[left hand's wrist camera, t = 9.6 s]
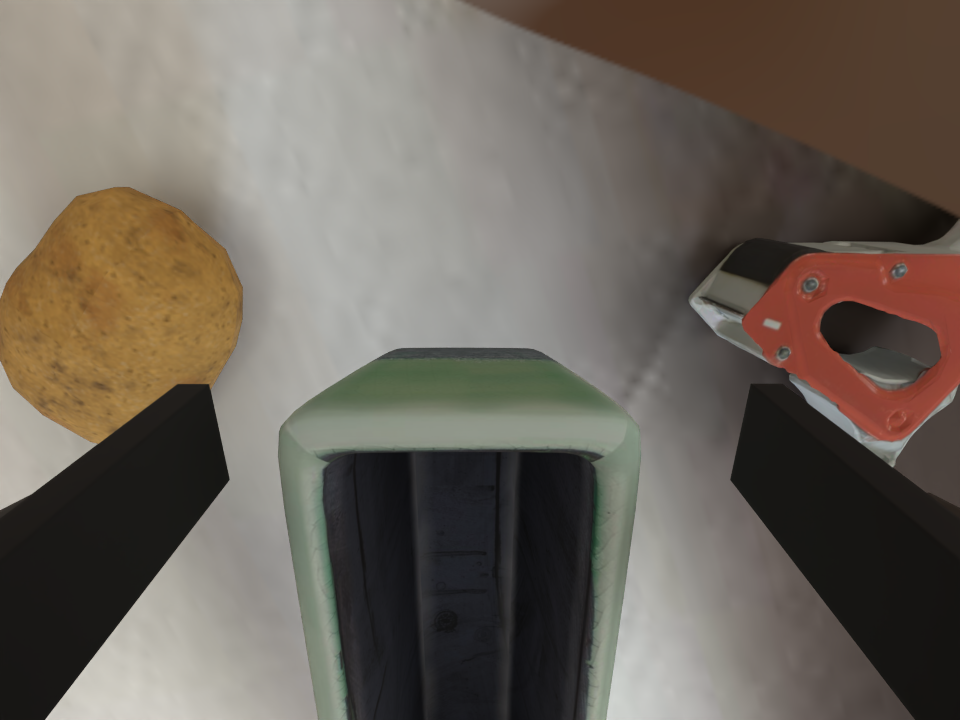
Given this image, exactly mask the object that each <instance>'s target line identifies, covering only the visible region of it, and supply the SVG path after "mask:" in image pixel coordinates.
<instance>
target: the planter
mask: <svg viewBox="0 0 960 720" xmlns="http://www.w3.org/2000/svg"><path fill="white" fill-rule="evenodd" d="M278 459H279V468H280V476H281V484H282V493H283V501H284V509H285V516H286V522H287V528H288V535H289V541H290V547H291V554H292V560H293V566H294V573H295V579H296V586H297V592H298V598H299V605H300V611H301V617H302V623H303V629H304V635H305V641H306V647H307V653H308V660H309V666H310V672H311V678H312V684H313V690H314V696H315V702H316V708H317V715H318V720H606V716H607V709H608V702H609V695H610V688H611V681H612V674H613V667H614V660H615V653H616V646H617V639H618V632H619V625H620V618H621V611H622V604H623V597H624V590H625V582H626V575H627V568H628V560H629V553H630V546H631V538H632V531H633V524H634V516H635V509H636V500H637V490H638V480H639V471H640V461H641V444H640V430H639V426H638V425H637V424H636V422H635V421H634V420H633V419H632V417H631V416H630V415H629V414H628V413H627V411H625V410H624V409H623V408H622V407H621V406H620V405H618V404H617V403H616V402H615V401H614V400H612V399H611V398H609V397H608V396H607V395H605V394H604V393H603V392H601V391H600V390H598V389H597V388H596V387H594V386H593V385H591V384H590V383H588V382H587V381H585V380H584V379H582V378H581V377H580V376H578V375H576V374H575V373H573V372H572V371H570V370H569V369H567V368H566V367H564V366H563V365H561V364H560V363H558V362H556V361H555V360H553V359H552V358H550V357H548V356H547V355H545V354H543V353H542V352H539V351H537V350H534V349H525V348H401V349H396V350H393V351H391V352H388V353H386V354H384V355H382V356H381V357H379V358H377V359H375V360H373V361H372V362H370V363H368V364H367V365H365V366H363V367H362V368H360V369H358V370H356V371H355V372H353V373H352V374H350V375H348V376H347V377H345V378H343V379H342V380H340V381H339V382H337V383H335V384H334V385H332V386H331V387H329V388H327V389H326V390H324V391H323V392H321V393H320V394H318V395H317V396H315V397H314V398H312V399H311V400H309V401H308V402H306V403H305V404H304V405H302V406H301V407H300V408H299V409H297V410H296V411H295V412H294V413H293V414H292V415H291V416H290V417H289V418H288V419H287V420H286V421H285V423H284V424H283V425H282V426H281V428H280V431H279V448H278Z"/></svg>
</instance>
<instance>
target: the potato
mask: <svg viewBox="0 0 960 720" xmlns="http://www.w3.org/2000/svg"><path fill="white" fill-rule="evenodd" d="M242 303H243V287H242V285H241V283H240V280H239V278H238V276H237V274H236V272H235V269H234V267H233V265H232V263H231V260H230V258H229V256H228V254H227V251H226V249H225V248H223V247H222V246H221V245H220V244H219V243H218V242H216V241H215V240H214V239H213V238H212V237H210V236H209V235H208V234H207V233H206V232H205V231H203V230H202V229H201V228H200V227H199V226H197V225H196V224H195V223H194V222H193V221H192V220H191V219H190V218H189V217H188V216H187V215H186V214H184V213H183V212H182V211H181V210H179V209H177V208H175V207H172V206H170V205H168V204H166V203H163V202H161V201H159V200H157V199H154V198H152V197H150V196H148V195H145V194H143V193H141V192H139V191H136V190H134V189H132V188H130V187H114V188H110V189H106V190H101V191H97V192H93V193H88V194H84V195H80V196H76V198H75V199H74V200H73V201H72V202H71V203H70V204H69V205H68V206H67V207H66V208H65V210H64V211H63V212H62V213H61V214H60V215H59V216H58V217H57V218H56V219H55V220H54V222H53V223H52V225H51V226H50V228H49V229H48V231H47V232H46V233H45V235H44V236H43V238H42V239H41V241H40V242H39V244H38V245H37V247H36V248H35V249H34V250H33V251H32V252H31V253H30V254H29V256H28V257H27V258H26V259H25V260H24V261H23V262H22V263H21V264H20V265H19V266H18V267H17V268H16V269H15V271H14V272H13V274H12V275H11V277H10V278H9V280H8V281H7V283H6V286H5V288H4V291H3V293H2V296H1V299H0V361H1V363H2V365H3V367H4V370H5V372H6V374H7V376H8V378H9V381H10V383H11V385H12V387H13V388H14V389H15V390H16V391H17V392H18V393H19V394H20V395H22V396H23V397H24V398H25V399H26V400H27V401H28V402H29V403H30V404H31V405H33V406H34V407H35V408H36V409H37V410H38V411H39V412H40V413H41V414H42V415H44V416H46V417H47V418H49V419H51V420H53V421H55V422H56V423H58V424H60V425H62V426H63V427H65V428H67V429H69V430H71V431H72V432H74V433H76V434H78V435H79V436H81V437H83V438H85V439H87V440H88V441H90V442H94V443H98V444H99V443H100V442H102V441H103V440H104V439H105V438H107V437H108V436H109V435H111V434H112V433H113V432H115V431H116V430H117V429H119V428H120V427H121V426H123V425H124V424H125V423H127V422H128V421H129V420H131V419H132V418H133V417H134V416H136V415H137V414H138V413H140V412H141V411H142V410H144V409H145V408H146V407H148V406H149V405H150V404H152V403H153V402H154V401H156V400H157V399H158V398H160V397H161V396H162V395H164V394H165V393H166V392H167V391H169V390H170V389H171V388H173V387H174V386H175V385H177V384H209V386H210V390H211V388H212V386H213V385H214V383H215V381H216V379H217V378H218V376H219V374H220V372H221V371H222V369H223V367H224V365H225V364H226V362H227V360H228V359H229V357H230V355H231V354H232V352H233V350H234V348H235V347H236V343H237V339H238V335H239V331H240V327H241V323H242Z"/></svg>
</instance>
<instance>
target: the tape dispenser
mask: <svg viewBox="0 0 960 720" xmlns="http://www.w3.org/2000/svg"><path fill="white" fill-rule="evenodd" d="M688 301H689V303H690V305H691V306H692V307H693V309H694V310H695V311H696V312H697V313H698V314H699V315H700V316H701V317H702V318H703V320H704V321H705V322H706V323H707V324H708V325H709V326H710V327H711V328H712V329H713V330H714V332H715V333H716V334H717V335H718V336H720V337H721V338H724V339H726V340H728V341H729V342H731V343H732V344H734V345H736V346H738V347H739V348H741V349H743V350H745V351H747V352H749V353H751V354H753V355H755V356H757V357H759V358H761V359H763V360H764V361H766V362H768V363H770V364H771V365H774V366H776V367H778V368H785V369H786V371H787V372H788V373H790V375H789V380H790V381H791V382H792V383H793V384H795V386H796V387H797V388H798V389H799V390H800V391H801V392H802V393H803V395H804V397H805V399H806V400H807V402H808V404H810V405H811V406H812V407H814V408H815V409H816V410H818V411H819V412H820V413H822V414H823V415H824V416H826V417H827V418H828V419H829V420H831V421H832V422H833V423H835V424H836V425H837V426H839V427H840V428H841V429H843V430H844V431H845V432H847V433H848V434H849V435H851V436H852V437H853V438H855V439H856V440H857V441H858V442H860V443H861V444H862V445H864V446H865V447H866V448H868V449H869V450H870V451H872V452H873V453H874V454H876V455H877V456H878V457H880V458H881V459H882V460H884V461H885V462H886V463H888V464H889V465H890V466H891V467H893V466H894V465H895V460H896V458H897V457H898V455H899V454H900V452H901V451H902V449H903V448H904V446H905V445H906V443H907V441H908V440H909V439H910V437H911V436H912V435H913V434H914V433H915V431H916V430H917V429H918V428H919V427H921V426H922V425H923V424H924V422H925V421H927V420H928V419H929V418H930V417H932V416H933V415H934V414H936V413H937V412H939V411H940V410H941V409H943V408H944V407H945V406H947V405H948V404H950V403H951V402H952V400H953V398H954V396H955V393H956V390H957V387H958V385H959V384H960V219H959V220H958V221H957V222H956V223H955V225H954V226H953V227H952V228H951V230H950V231H948V232H947V233H946V234H945V235H944V236H943V237H942V238H940V239H938V240H935V241H932V242H929V243H927V244H924V245H910V244H903V243H897V242H849V241H830V242H824V243H785V242H779V241H773V240H768V239H760V238H756V239H752V240H749V241H746V242H744V243H742V244H740V245H738V246H736V247H735V248H734V249H733V250H731V252H730V253H729V254H728V255H727V256H726V257H725V258H724V259H723V260H722V262H721V263H720V264H719V265H718V266H717V267H716V268H715V269H714V270H713V271H712V272H711V273H710V274H709V275H708V276H707V278H706V279H705V280H704V281H703V282H702V283H701V284H700V285H699V286H698V287H697V288H696V290H695V291H694V292H693V293H692V294H691V295H690V297H689V300H688ZM842 301H855V302H858V303H861V304H864V305H867V306H870V307H873V308H875V309H878V310H882V311H885V312H887V313H889V314H895V315H898V316H900V317H902V318H904V319H908V320H913V321H916V322H919V323H921V324H924V325H926V326H928V327H930V328H931V329H933V330H934V331H935V332H936V333H937V337H938V341H939V345H940V350H941V357H940V360H939V361H938V363H937V364H936V365H934V366H933V367H931V366H928V365H926V364H923V363H922V362H920V361H918V360H916V359H914V358H911V357H909V356H906V355H904V354H901V353H899V352H896V351H892V350H888V349H884V348H880V347H876V346H875V347H871V348H870V349H868V350H866V351H864V352H860V353H856V354H851V355H847V354H838V353H837V352H835V351H833V350H832V349H831V348H830V347H829V345H828V343H827V342H826V340H825V338H824V337H823V335H822V334H821V332H820V324H821V320H822V317H823V315H824V313H825V312H826V311H827V310H828V309H829V308H830V307H831V306H833V305H834V304H836V303H840V302H842Z"/></svg>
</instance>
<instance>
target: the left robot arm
mask: <svg viewBox="0 0 960 720" xmlns="http://www.w3.org/2000/svg"><path fill="white" fill-rule="evenodd" d="M229 480H230V479H229V474H228V470H227V465H226V460H225V456H224V451H223V446H222V442H221V437H220V432H219V428H218V423H217V418H216V414H215V409H214V404H213V400H212V395H211V390H210V386H209V384H177V385H175V386H174V387H173V388H171V389H170V390H169V391H167V392H166V393H165V394H164V395H162V396H161V397H160V398H158V399H157V400H156V401H154V402H153V403H152V404H150V405H149V406H148V407H146V408H145V409H144V410H142V411H141V412H140V413H138V414H137V415H136V416H134V417H133V418H132V419H131V420H129V421H128V422H127V423H125V424H124V425H123V426H121V427H120V428H119V429H117V430H116V431H115V432H113V433H112V434H111V435H109V436H108V437H107V438H105V439H104V440H103V441H102V442H100V443H99V444H98V445H96V446H95V447H94V448H92V449H91V450H90V451H88V452H87V453H86V454H84V455H83V456H82V457H80V458H79V459H78V460H76V461H75V462H74V463H72V464H71V465H70V466H69V467H67V468H66V469H65V470H63V471H62V472H61V473H59V474H58V475H57V476H55V477H54V478H53V479H51V480H50V481H49V482H47V483H46V484H45V485H43V486H42V487H41V488H39V489H38V490H37V491H36V492H34V493H33V494H32V495H29V496H27V497H25V498H23V499H22V500H20V501H18V502H16V503H14V504H12V505H10V506H8V507H6V508H4V509H2V510H0V720H45V719H46V718H47V716H48V715H49V714H50V712H51V711H52V710H53V709H54V707H55V706H56V705H57V703H58V702H59V701H60V699H61V698H62V697H63V696H64V694H65V693H66V692H67V690H68V689H69V688H70V686H71V685H72V684H73V683H74V681H75V680H76V679H77V677H78V676H79V675H80V673H81V672H82V671H83V670H84V668H85V667H86V666H87V664H88V663H89V662H90V660H91V659H92V658H93V657H94V655H95V654H96V653H97V651H98V650H99V649H100V647H101V646H102V645H103V644H104V642H105V641H106V640H107V638H108V637H109V636H110V635H111V633H112V632H113V631H114V629H115V628H116V627H117V625H118V624H119V623H120V622H121V620H122V619H123V618H124V616H125V615H126V614H127V612H128V611H129V610H130V609H131V607H132V606H133V605H134V603H135V602H136V601H137V599H138V598H139V597H140V596H141V594H142V593H143V592H144V590H145V589H146V588H147V586H148V585H149V584H150V583H151V581H152V580H153V579H154V577H155V576H156V575H157V573H158V572H159V571H160V570H161V568H162V567H163V566H164V564H165V563H166V562H167V560H168V559H169V558H170V557H171V555H172V554H173V553H174V551H175V550H176V549H177V548H178V546H179V545H180V544H181V542H182V541H183V540H184V538H185V537H186V536H187V535H188V533H189V532H190V531H191V529H192V528H193V527H194V525H195V524H196V523H197V522H198V520H199V519H200V518H201V516H202V515H203V514H204V512H205V511H206V510H207V509H208V507H209V506H210V505H211V503H212V502H213V501H214V499H215V498H216V497H217V496H218V494H219V493H220V492H221V490H222V489H223V488H224V486H225V485H226V484H227V483H228V481H229ZM730 480H731V481H732V483H733V484H734V485H735V486H736V488H737V489H738V490H739V492H740V493H741V494H742V496H743V497H744V498H745V499H746V501H747V502H748V503H749V505H750V506H751V507H752V509H753V510H754V511H755V512H756V514H757V515H758V516H759V518H760V519H761V520H762V522H763V523H764V524H765V525H766V527H767V528H768V529H769V531H770V532H771V533H772V535H773V536H774V537H775V538H776V540H777V541H778V542H779V544H780V545H781V546H782V548H783V549H784V550H785V551H786V553H787V554H788V555H789V557H790V558H791V559H792V560H793V562H794V563H795V564H796V566H797V567H798V568H799V570H800V571H801V572H802V573H803V575H804V576H805V577H806V579H807V580H808V581H809V583H810V584H811V585H812V586H813V588H814V589H815V590H816V592H817V593H818V594H819V596H820V597H821V598H822V599H823V601H824V602H825V603H826V605H827V606H828V607H829V609H830V610H831V611H832V612H833V614H834V615H835V616H836V618H837V619H838V620H839V622H840V623H841V624H842V625H843V627H844V628H845V629H846V631H847V632H848V633H849V635H850V636H851V637H852V638H853V640H854V641H855V642H856V644H857V645H858V646H859V647H860V649H861V650H862V651H863V653H864V654H865V655H866V657H867V658H868V659H869V660H870V662H871V663H872V664H873V666H874V667H875V668H876V670H877V671H878V672H879V673H880V675H881V676H882V677H883V679H884V680H885V681H886V683H887V684H888V685H889V686H890V688H891V689H892V690H893V692H894V693H895V694H896V696H897V697H898V698H899V699H900V701H901V702H902V703H903V705H904V706H905V707H906V709H907V710H908V711H909V712H910V714H911V715H912V716H913V718H914V719H915V720H960V508H959V507H957V506H955V505H953V504H951V503H949V502H947V501H945V500H943V499H941V498H939V497H937V496H935V495H933V494H931V493H926V492H924V491H923V490H922V489H921V488H919V487H918V486H917V485H915V484H914V483H913V482H911V481H910V480H909V479H907V478H906V477H905V476H903V475H902V474H901V473H899V472H898V471H897V470H895V469H894V468H893V467H891V466H890V465H889V464H888V463H886V462H885V461H884V460H882V459H881V458H880V457H878V456H877V455H876V454H874V453H873V452H872V451H870V450H869V449H868V448H866V447H865V446H864V445H862V444H861V443H860V442H858V441H857V440H856V439H855V438H853V437H852V436H851V435H849V434H848V433H847V432H845V431H844V430H843V429H841V428H840V427H839V426H837V425H836V424H835V423H833V422H832V421H831V420H829V419H828V418H827V417H826V416H824V415H823V414H822V413H820V412H819V411H818V410H816V409H815V408H814V407H812V406H811V405H810V404H808V403H807V402H806V401H804V400H803V399H802V398H800V397H799V396H798V395H796V394H795V393H794V392H793V391H791V390H790V389H789V388H787V387H786V386H785V385H783V384H751V386H750V390H749V395H748V400H747V404H746V409H745V414H744V418H743V423H742V428H741V432H740V437H739V442H738V446H737V451H736V456H735V460H734V465H733V470H732V474H731V479H730Z"/></svg>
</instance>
